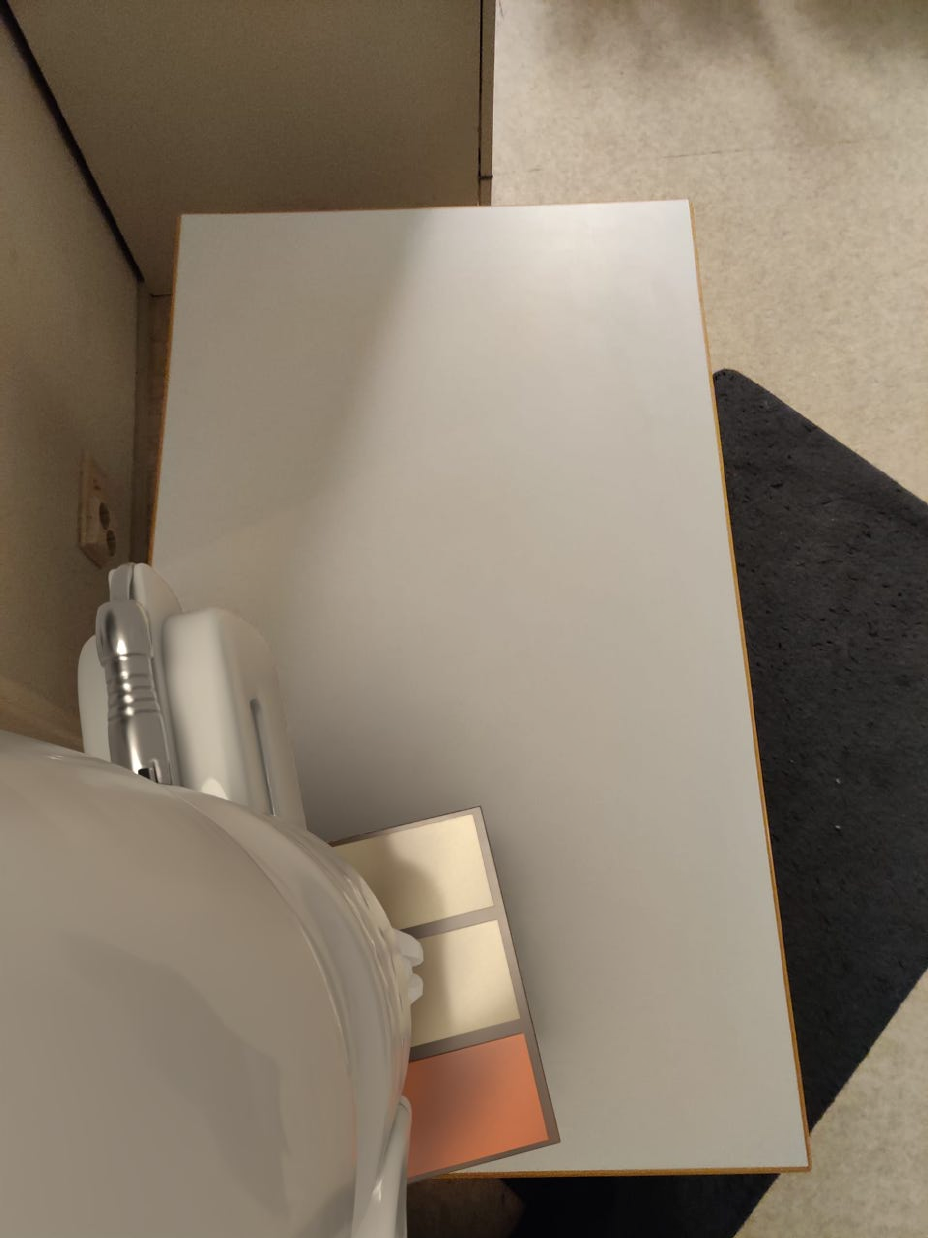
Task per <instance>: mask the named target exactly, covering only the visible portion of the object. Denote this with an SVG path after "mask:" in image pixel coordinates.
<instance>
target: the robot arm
mask: <svg viewBox="0 0 928 1238" xmlns="http://www.w3.org/2000/svg"><path fill="white" fill-rule="evenodd" d="M107 578H108V579H107V581H108V587H109V601H106V602H104V603H102V604H101V605H99V606H98V608H97V610H96V611H97V612H96V616H95V629H94V630H95V631H94V632H95V633H94V634H93V635H92V636H91V637H89V639H87V641H86V642H84V645H83V647H82V649H81V652H80V655H79V659H78V665H77V697H78V698H77V699H78V700H77V701H78V709H79V718H80V719H79V720H80V727H81V728H80V729H81V734H82V735H81V736H82V744H83V752H81V751H78V750H74V749H72V748H69V747H65V746H61V745H58V744H55V743H51V742H48V741H44V740H42V739H37V738H33V737H29V736H26V735H23V734H19V733H15V732H11V731H8V730H4V729H1V728H0V1238H408V1225H407V1224H408V1223H407V1221H408V1220H407V1219H408V1218H407V1194H408V1193H407V1192H408V1191H407V1189H408V1184H407V1168H408V1154H409V1143H410V1132H411V1122H412V1110H411V1105H410V1102H409V1100H408V1099H407V1098H406V1097H405V1096H402V1091H403V1087H404V1083H405V1078H406V1074H407V1067H408V1060H409V1053H410V1041H411V1006H410V995H409V988H408V981H407V975H406V971H405V967H404V962H403V958H402V954H401V951H400V948H399V945H398V942H397V939H396V936H395V934H394V931H393V929H392V927H391V925H390V922H389V920H388V918H387V916H386V914H385V912H384V910H383V908H382V907H381V905H380V903H379V902H378V900H377V898H376V896H375V895H374V893H373V892H372V890H371V889H370V888H369V886H368V885H367V884H366V882H365V881H364V879H363V878H362V877H361V876H360V874H359V873H358V872H357V871H356V870H355V869H354V868H353V867H352V866H351V864H350V863H349V862H348V861H347V860H346V859H345V858H343V857H342V856H341V855H340V854H339V853H338V852H337V851H336V850H335V849H333V848H332V847H331V846H330V845H328V844H327V842H326V841H324V840H323V839H322V838H320V837H319V836H318V835H316V834H314V833H312V832H311V831H309V830H308V829H307V823H306V818H305V817H306V816H305V812H304V806H303V801H302V797H301V791H300V786H299V785H300V784H299V780H298V774H297V768H296V765H295V758H294V754H293V753H294V752H293V748H292V741H291V737H290V731H289V726H288V721H287V716H286V710H285V705H284V700H283V699H284V698H283V694H282V689H281V684H280V683H281V682H280V679H279V674H278V669H277V666H276V665H277V664H276V662H275V658H274V656H273V654H272V651H271V648H270V646H269V644H268V642H267V640H266V638H265V637H264V635H263V634H262V633H261V632H260V631H259V630H258V629H257V628H256V627H255V626H254V625H252V624H251V623H249V622H248V621H247V620H246V619H244V618H243V617H241V616H240V615H238V614H236V613H235V612H234V611H231V610H229V609H226V608H224V607H222V606H221V607H220V606H208V607H204V608H198V609H194V610H189V611H184V610H183V608H182V606H181V604H180V601H179V599H178V596H177V595H176V593H175V592H174V590H173V588H172V587H171V585H170V584H168V582H167V581H166V580H165V579H164V578H163V577H162V576H161V575H159V573H158V572H157V571H155V570H154V568H153V567H151V566H150V565H149V564H147V563H144V562H139V563H135V562H133V561H126V562H123V563H121V564H120V565H118V567H116V568H112V569H111V570H110V571H109V573H108V577H107Z"/></svg>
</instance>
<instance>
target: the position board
mask: <svg viewBox="0 0 928 1238" xmlns="http://www.w3.org/2000/svg"><path fill="white" fill-rule="evenodd" d="M483 812H484V811H483V809H482V806H481V805H477V806H473V807H468V808H464V809H461V810H455V811H451V812H447V813H443V814H439V815H436V816H431V817H427V818H422V819H419V820H415V821H414V820H413V821H410V822H406V823H403V824H398V825H393V826H389V827H385V828H381V829H377V830H373V831H369V832H364V833H361V834H357V835H352V836H348V837H344V838H339V839H336V840H332V841H327V842H326V843H327V844H328V845H330V846H331V847H332V848H333V849H335V850H336V851H337V852H338V853H339V854H340V855H341V856H342V857H343V858H345V859H346V860H347V861H348V862H349V863H350V864H351V866H352V867H353V868H354V869H355V870H356V871H357V872H358V873H359V874H360V876H361V877H362V878H363V879H364V881H365V882H366V884H367V885H368V886H369V888H370V889H371V890H372V892H373V893H374V895H375V896H376V898H377V900H378V902H379V903H380V905H381V907H382V908H383V910H384V912H385V914H386V916H387V918H388V920H389V922H390V925H391V927H392V928H394V929H396V930H399V931H401V932H404V933H406V934H409V935H411V936H412V937H413V938H415V939H416V940H417V941H418V942H420V944H421V947H422V950H423V962H422V963H421V964H419V965H416V966H413V967H412V971H413V972H412V973H414V974H417V975H418V976H419V977H420V978H421V979H422V981H423V994H422V995H421V996H420V997H419V998H418V999H417V1000H416V1001H414V1002H413V1003H412V1004H411V1005H410V1006H411V1041H410V1053H409V1060H408V1067H407V1074H406V1078H405V1083H404V1087H403V1091H402V1096H405V1097H406V1098H407V1099H408V1100H409V1102H410V1105H411V1110H412V1122H411V1132H410V1143H409V1154H408V1168H407V1185H411V1184H415V1183H418V1182H422V1181H425V1180H429V1179H433V1178H436V1177H440V1176H444V1175H447V1174H450V1173H455V1172H458V1171H462V1170H466V1169H469V1168H473V1167H476V1166H481V1165H483V1164H487V1163H492V1162H495V1161H498V1160H502V1159H505V1158H509V1157H513V1156H517V1155H520V1154H524V1153H528V1152H532V1151H535V1150H538V1149H543V1148H547V1147H550V1146H554V1145H557V1144H560V1143H561V1141H562V1140H561V1135H560V1132H559V1128H558V1123H557V1119H556V1116H555V1115H556V1114H555V1112H554V1111H555V1110H554V1106H553V1101H552V1098H551V1094H550V1090H549V1086H548V1081H547V1077H546V1074H545V1069H544V1064H543V1060H542V1057H541V1053H540V1048H539V1045H538V1044H539V1043H538V1039H537V1034H536V1031H535V1027H534V1022H533V1019H532V1013H531V1009H530V1007H529V1001H528V996H527V993H526V988H525V985H524V981H523V976H522V972H521V969H520V963H519V960H518V955H517V951H516V947H515V943H514V939H513V934H512V929H511V926H510V922H509V918H508V913H507V909H506V904H505V900H504V896H503V892H502V888H501V883H500V879H499V875H498V871H497V867H496V863H495V858H494V854H493V849H492V846H491V842H490V837H489V833H488V830H487V829H488V828H487V825H486V821H485V817H484V816H485V815H484V813H483Z"/></svg>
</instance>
